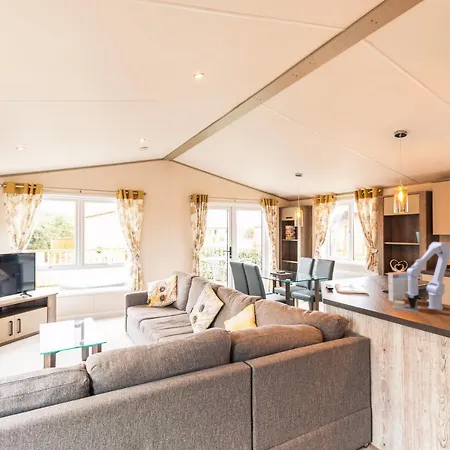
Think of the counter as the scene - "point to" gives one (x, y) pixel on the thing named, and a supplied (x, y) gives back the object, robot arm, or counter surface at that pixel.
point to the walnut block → (415, 306)
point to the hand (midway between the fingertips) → (413, 306)
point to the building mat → (406, 308)
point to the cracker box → (398, 286)
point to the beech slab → (399, 304)
